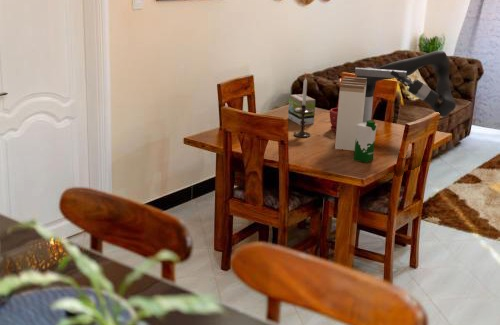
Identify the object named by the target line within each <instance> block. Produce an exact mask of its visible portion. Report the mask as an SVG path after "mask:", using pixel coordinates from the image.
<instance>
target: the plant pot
mask: <svg viewBox="0 0 500 325" xmlns="http://www.w3.org/2000/svg"><path fill="white" fill-rule="evenodd" d="M337 117H338V107H334V108H331V109H330V110H329V120H330V124H331V126H330V129H331V131H333V132H336V130H337Z"/></svg>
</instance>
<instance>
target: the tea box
mask: <svg viewBox="0 0 500 325" xmlns="http://www.w3.org/2000/svg"><path fill="white" fill-rule="evenodd" d="M302 100H303V93H301V94H300V93H299V94H289V96H288V108H287V109H288V112H287V113H288V114H287V119H289V120H290V121H292V122H294V123H295V124H297V125H299V126H301V123H300V121H302V114H298V113H295V112H294V111H293V110H294V108H298V107H302V106H301V104H302ZM306 105H308V106H306V108H311V109H313V110H314V112H313V113H312V114H305V115H304V121H305V124H304V126H305V125H314V123H315V115H316V114H315V113H316V112H315V111H316V110H315V109H316V99H315V98H312V97H310V96H308V95H306Z"/></svg>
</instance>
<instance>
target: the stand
mask: <svg viewBox="0 0 500 325" xmlns="http://www.w3.org/2000/svg"><path fill="white" fill-rule="evenodd" d="M366 83H367V78H357V77H352V76H343V78H342V81H341V83H340V86H339V94H338V107H337V108H338V117H337V130H336V134H335V146H334V149H335V150H342V149H343V150H345V151H355V140H356V125H357V124H359V123H362V122H363V115H364V105H365V94H366Z"/></svg>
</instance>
